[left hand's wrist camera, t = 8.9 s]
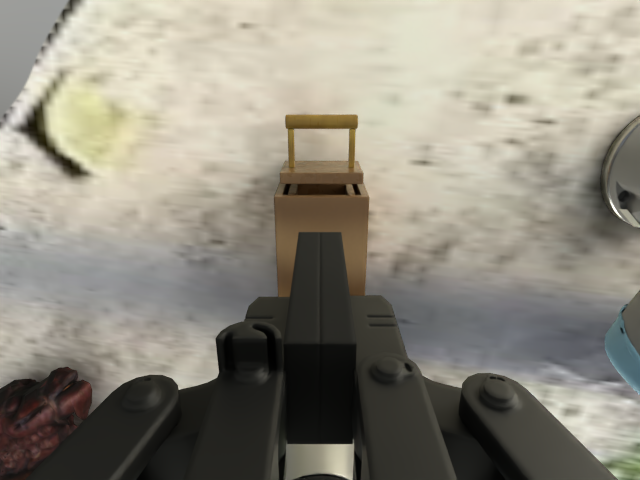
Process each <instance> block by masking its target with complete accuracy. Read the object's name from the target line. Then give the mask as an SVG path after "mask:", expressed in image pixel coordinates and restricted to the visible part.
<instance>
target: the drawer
mask: <svg viewBox="0 0 640 480" xmlns="http://www.w3.org/2000/svg"><path fill="white" fill-rule="evenodd" d="M285 122H286V129H288V151H289V161H285V163H284V165H283V167H282V170H281V172H280V184H291V186H290V189H289V193H288V195H355V193H354V189H353V186H352V184H363V171H362V169H361V167H360V165H359V162H358V161H354V159H355V129H357V127H358V116H357V115H286V119H285ZM294 129H349V161H295V157H294Z"/></svg>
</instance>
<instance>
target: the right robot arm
mask: <svg viewBox="0 0 640 480" xmlns="http://www.w3.org/2000/svg"><path fill="white" fill-rule="evenodd" d="M286 461H287V468H286V480H353V461H354V441H353V444H287V443H286Z"/></svg>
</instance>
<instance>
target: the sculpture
mask: <svg viewBox="0 0 640 480" xmlns="http://www.w3.org/2000/svg"><path fill="white" fill-rule="evenodd" d="M77 377H78V374H77V371H76V370H72V369H70V368H69V367H63V368H58V369H56V370H54V371H52V372H51V373H50V375H49V377H48V378H46V379H45V380H43V381H41V382H36V381H35V380H33V379H21V380H14V381H13V382H11V383H9V384H8V385H6V386H4V387H3V388H1V389H0V480H25V479H26V478H27V477H28V476H29V475H30V474H31V473H32V472H33V471H34V470H35V469H36V468H37V467H38V466H39V465H40V464H41V463H42V462H43V461H44V460H45V459H46V458H47V457H48V456H49V455H50V454H51V453H52V452H53V451H54V450H55V449H56V448H57V447H58V446H59V445H60V444H61V443H62V442H63V441H64V440H65V439H66V438H67V437H68V436H69V435H70V434H71V433H72V432H73V431H74V430H75V429H76V428H77V427H78V426H76V425H75V424H73V420H74V416H73V413H74V412H75V414H76V415H77V416H78V417H79V418H81V419H83V420H85V419H86V418H87V417H88V411H89V408H90V406H91V403H92V389H91V386H90V383H88V382H86V381H84V380H81V381H78V382H76V381H77Z"/></svg>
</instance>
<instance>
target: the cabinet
mask: <svg viewBox="0 0 640 480" xmlns="http://www.w3.org/2000/svg"><path fill="white" fill-rule="evenodd" d="M290 186H291V184H280V183H279V186H278V189H277V191H276V194H275V196H274V208H275V232H276V257H277V281H278V297H290V292H291V284H292V277H293V270H294V262H295V255H296V248H297V241H298V233H299V232H341V233H342V241H343V248H344V255H345V263H346V270H347V277H348V284H349V292H350V296H365V280H366V258H367V235H368V213H369V196H368V193H367V191H366V188H365V186H364V183H363V184H352V186H353V189H354V193H355V195H288V193H289V189H290Z"/></svg>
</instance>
